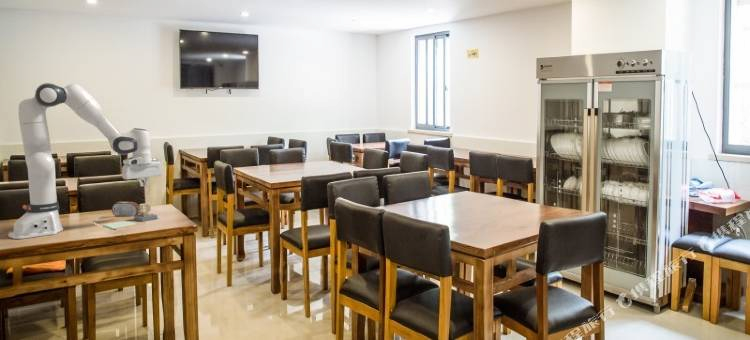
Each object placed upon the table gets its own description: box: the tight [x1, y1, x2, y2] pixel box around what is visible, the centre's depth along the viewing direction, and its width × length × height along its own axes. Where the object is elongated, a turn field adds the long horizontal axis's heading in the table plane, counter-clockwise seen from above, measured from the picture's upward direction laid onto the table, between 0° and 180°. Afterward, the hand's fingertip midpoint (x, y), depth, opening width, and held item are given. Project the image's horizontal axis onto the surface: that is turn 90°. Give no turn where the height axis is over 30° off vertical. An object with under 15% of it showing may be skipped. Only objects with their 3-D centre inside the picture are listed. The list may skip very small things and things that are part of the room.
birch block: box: [138, 202, 152, 217], centre depth 287 cm, size 4×4×8 cm
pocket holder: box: [131, 213, 160, 223], centre depth 288 cm, size 10×10×3 cm
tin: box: [111, 201, 140, 217], centre depth 297 cm, size 15×3×8 cm, turn 84°
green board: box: [102, 220, 137, 231], centre depth 276 cm, size 12×12×1 cm
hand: (143, 186), depth 285 cm, fingers closed
